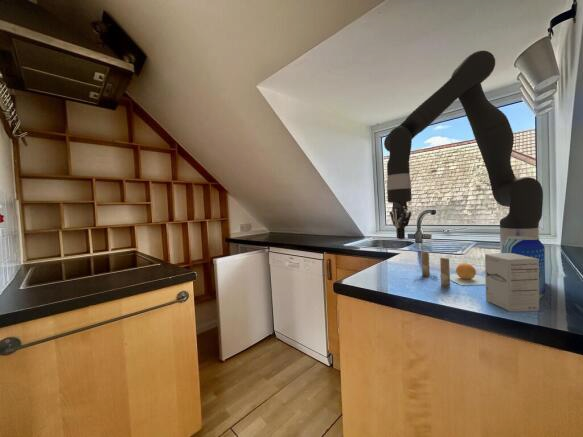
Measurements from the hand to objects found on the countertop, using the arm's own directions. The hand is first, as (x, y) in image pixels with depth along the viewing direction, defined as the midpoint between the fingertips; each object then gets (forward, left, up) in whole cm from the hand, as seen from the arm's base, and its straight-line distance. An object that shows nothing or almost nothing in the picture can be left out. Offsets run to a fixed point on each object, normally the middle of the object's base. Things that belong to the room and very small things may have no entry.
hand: (400, 238), depth 83 cm
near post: (-11, +6, -15) cm, 20 cm away
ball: (-21, 0, -12) cm, 25 cm away
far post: (-11, -6, -15) cm, 20 cm away
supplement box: (-18, +22, -15) cm, 32 cm away
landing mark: (-22, 0, -15) cm, 27 cm away
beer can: (-27, +15, -15) cm, 34 cm away
